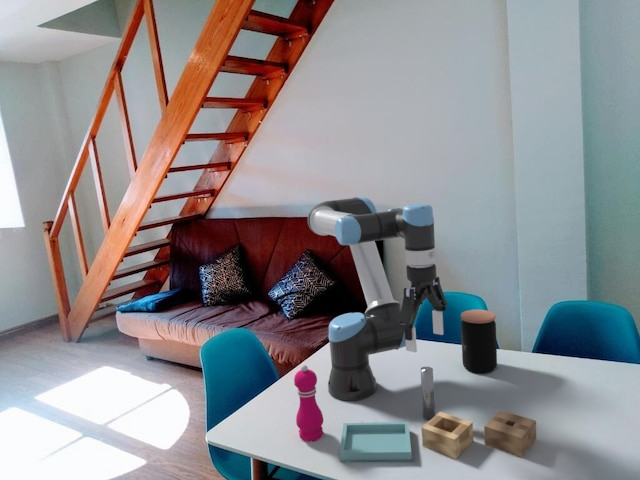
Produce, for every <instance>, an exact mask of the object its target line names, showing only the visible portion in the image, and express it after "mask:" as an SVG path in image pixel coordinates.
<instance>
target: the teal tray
mask: <svg viewBox="0 0 640 480" xmlns="http://www.w3.org/2000/svg"><path fill="white" fill-rule="evenodd" d="M409 425H410V424H409V421H394V422H393V421H391V422H390V421H389V422H387V421H386V422H384V421H383V422H343V425H342V432H341V442H340V446H339V447H340V449H339V460H340V463H379V462H380V463H385V462H386V463H388V462H389V463H391V462H392V463H393V462H394V463H398V462H400V463H401V462H408V463H409V462H413V459H412V457H413V456H412V446H411V436H410V435H411V434H410V427H409Z"/></svg>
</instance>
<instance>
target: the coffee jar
mask: <svg viewBox="0 0 640 480" xmlns="http://www.w3.org/2000/svg"><path fill="white" fill-rule="evenodd" d="M460 318H461V321H460V329H461V333H460V334H461V354H462V355H461V357H462V358H461V359H462V365H463V368H465V370H466V371H468V372H470V373H473V374H476V375H477V374H479V375H485V374H490V373H492V372H494V371H495V369H496V368H497V366H498V352H497V323H496V321H495V319H496V314H495V313H494V312H493V311H491V310H485V309H470V310H465V311H463V312H461V314H460Z"/></svg>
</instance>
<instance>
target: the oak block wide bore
mask: <svg viewBox="0 0 640 480" xmlns="http://www.w3.org/2000/svg"><path fill="white" fill-rule="evenodd" d="M421 441H422V442H421V443H422V447H424V448H427V449H430V450H432V451H434V452H437V453H440V454H443V455H445V456H447V457H450V458H451V459H452V458H453V459H454V460H456V459H457V458H459V456H460V455H462V454H463V452H464V451H465V450H466V449H467V448H468V447H469V446H470V445H471V444H472V443H473V442H474V423H473V421H470V420H467V419H464V418H461V417H458V416H455V415H451V414H449V413H445V412H444V411H443V412H442V411H439V412H438V413H436V414H435V416H434V417H433V418H432V419H431V420H428V421H427V422H426V423H425V424H423V426H422V427H421Z"/></svg>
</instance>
